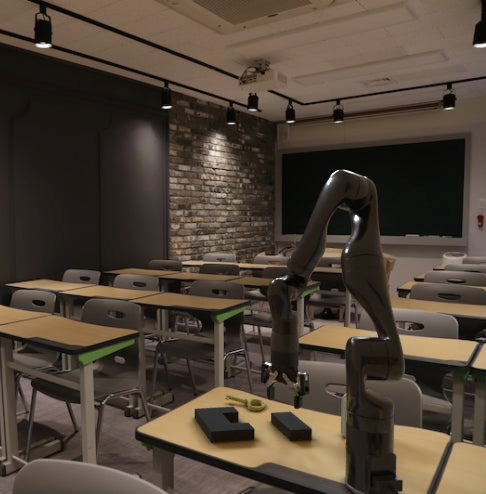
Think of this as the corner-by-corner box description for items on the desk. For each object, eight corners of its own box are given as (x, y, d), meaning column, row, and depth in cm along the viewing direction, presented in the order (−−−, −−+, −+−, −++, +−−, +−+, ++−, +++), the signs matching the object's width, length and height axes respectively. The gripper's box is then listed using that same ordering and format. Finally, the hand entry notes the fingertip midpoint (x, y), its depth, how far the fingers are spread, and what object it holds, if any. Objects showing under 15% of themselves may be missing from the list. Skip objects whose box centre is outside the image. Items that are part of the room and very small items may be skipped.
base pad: (254, 439, 130) (254, 428, 130) (211, 442, 129) (211, 431, 129) (233, 416, 146) (233, 406, 146) (194, 418, 145) (194, 408, 144)
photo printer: (359, 426, 138) (360, 383, 137) (374, 431, 134) (375, 387, 134) (338, 435, 132) (338, 390, 132) (353, 441, 129) (354, 395, 128)
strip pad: (290, 421, 142) (290, 411, 142) (311, 439, 130) (311, 428, 130) (270, 422, 141) (270, 412, 141) (290, 441, 129) (290, 430, 129)
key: (224, 400, 159) (224, 393, 159) (264, 403, 156) (264, 396, 156) (224, 408, 152) (224, 402, 152) (265, 412, 149) (265, 405, 149)
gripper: (315, 350, 134) (314, 408, 135) (271, 340, 145) (270, 393, 146) (299, 355, 129) (298, 415, 130) (255, 344, 141) (254, 399, 142)
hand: (284, 403), depth 138 cm, fingers open, 8 cm apart
